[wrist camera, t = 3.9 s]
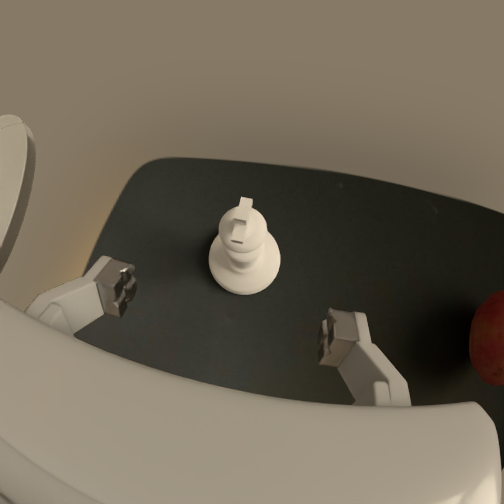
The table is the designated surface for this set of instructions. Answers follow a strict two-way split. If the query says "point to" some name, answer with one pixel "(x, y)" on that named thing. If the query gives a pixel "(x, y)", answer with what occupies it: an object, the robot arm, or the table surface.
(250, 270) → the chess piece
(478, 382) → the table surface
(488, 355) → the fruit
